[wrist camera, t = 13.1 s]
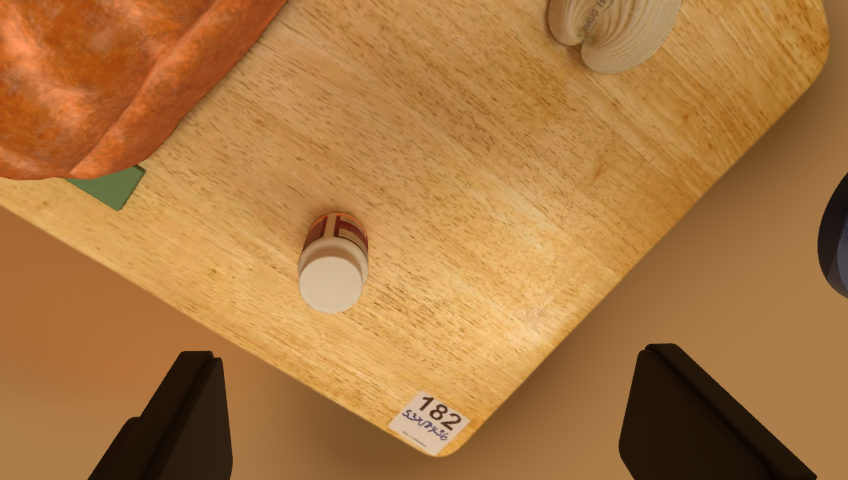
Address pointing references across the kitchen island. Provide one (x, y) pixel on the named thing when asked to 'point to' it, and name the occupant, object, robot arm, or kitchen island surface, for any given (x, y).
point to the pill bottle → (333, 263)
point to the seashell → (613, 30)
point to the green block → (112, 186)
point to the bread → (110, 77)
